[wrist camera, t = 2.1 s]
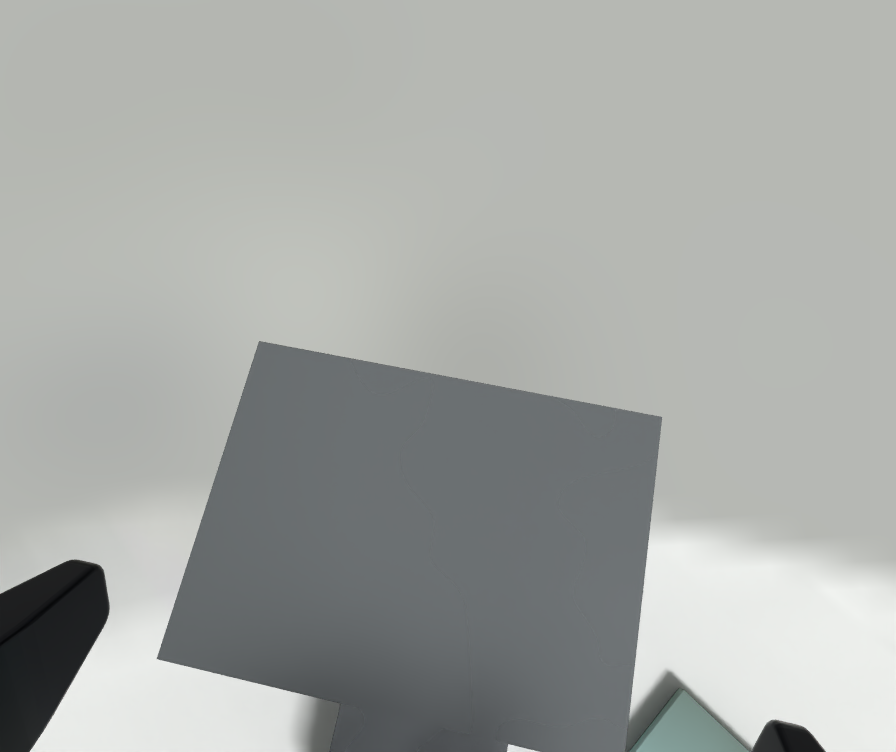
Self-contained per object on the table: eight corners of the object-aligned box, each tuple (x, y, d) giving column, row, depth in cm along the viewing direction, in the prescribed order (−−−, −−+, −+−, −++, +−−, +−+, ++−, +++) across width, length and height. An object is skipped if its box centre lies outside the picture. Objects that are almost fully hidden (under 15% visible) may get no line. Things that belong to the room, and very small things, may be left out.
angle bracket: (395, 506, 18) (259, 341, 7) (536, 536, 18) (661, 417, 6) (325, 809, 16) (-81, 1396, 4) (485, 850, 16) (529, 1621, 4)
